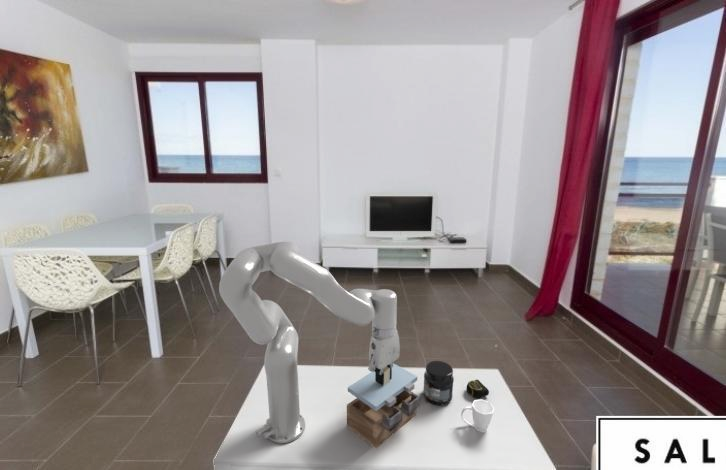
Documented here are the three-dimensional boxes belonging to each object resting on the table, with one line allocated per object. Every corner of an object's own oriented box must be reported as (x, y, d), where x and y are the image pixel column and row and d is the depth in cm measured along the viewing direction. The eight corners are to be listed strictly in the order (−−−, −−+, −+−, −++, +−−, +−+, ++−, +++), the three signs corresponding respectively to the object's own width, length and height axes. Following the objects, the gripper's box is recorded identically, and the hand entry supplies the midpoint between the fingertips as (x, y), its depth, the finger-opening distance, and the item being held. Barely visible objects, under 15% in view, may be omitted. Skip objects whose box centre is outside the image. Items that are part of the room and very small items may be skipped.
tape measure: (489, 398, 131) (490, 389, 130) (473, 401, 129) (474, 392, 128) (478, 386, 137) (479, 377, 136) (462, 389, 135) (463, 381, 134)
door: (380, 414, 104) (380, 395, 103) (347, 391, 114) (347, 373, 113) (421, 382, 118) (422, 365, 116) (389, 364, 128) (389, 348, 126)
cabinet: (383, 455, 106) (384, 425, 104) (346, 425, 118) (346, 398, 115) (423, 420, 120) (425, 393, 118) (387, 396, 131) (387, 371, 129)
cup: (493, 437, 113) (496, 415, 111) (461, 432, 115) (463, 411, 113) (490, 421, 120) (492, 400, 118) (459, 416, 122) (461, 396, 120)
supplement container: (443, 385, 137) (445, 357, 135) (457, 404, 128) (460, 374, 125) (418, 390, 135) (419, 361, 132) (430, 409, 125) (432, 379, 122)
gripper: (374, 343, 103) (374, 398, 108) (410, 324, 115) (408, 374, 119) (356, 334, 109) (357, 386, 113) (392, 316, 120) (391, 364, 124)
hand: (383, 379), depth 116 cm, fingers closed on door, 3 cm apart
